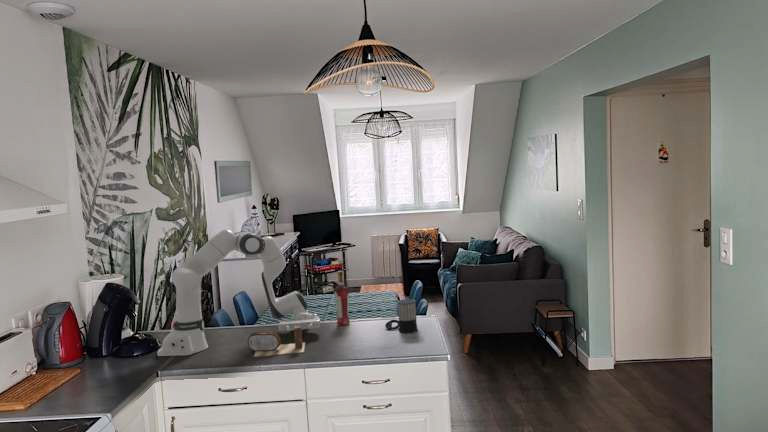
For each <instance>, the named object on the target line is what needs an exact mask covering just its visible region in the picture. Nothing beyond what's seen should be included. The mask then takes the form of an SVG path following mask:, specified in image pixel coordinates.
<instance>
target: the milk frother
mask: <svg viewBox="0 0 768 432" xmlns="http://www.w3.org/2000/svg"><path fill="white" fill-rule="evenodd" d="M416 302H417V300H416V299H413V298H405V299H399V300H397V302H396V303H397V309H398V319H390V320H389V321H387V322H386V323H385V328H386V329H387V330H391V331H392V330H394V331H395V330H397V329H398V332H399V333H402V334H412V333H417V331H418V330H419V329H418V325H417V310H416V309H417V307H416ZM394 323H396V324H397V325H396V326H393V327H392V325H393V324H394Z"/></svg>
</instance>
